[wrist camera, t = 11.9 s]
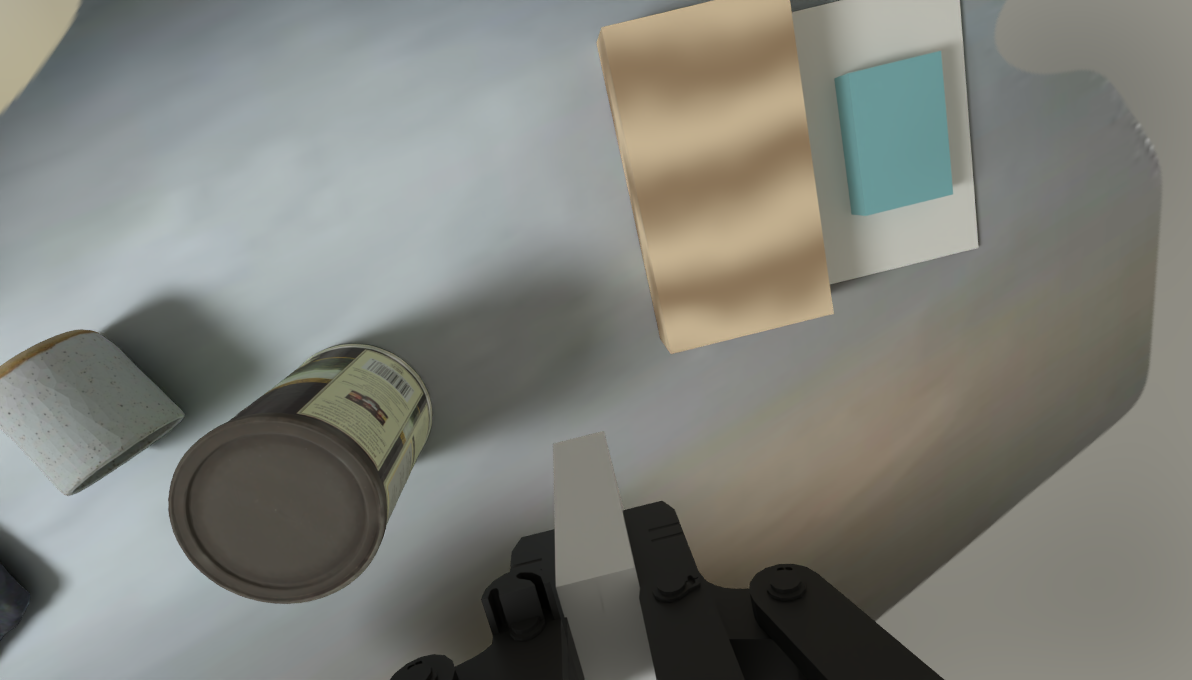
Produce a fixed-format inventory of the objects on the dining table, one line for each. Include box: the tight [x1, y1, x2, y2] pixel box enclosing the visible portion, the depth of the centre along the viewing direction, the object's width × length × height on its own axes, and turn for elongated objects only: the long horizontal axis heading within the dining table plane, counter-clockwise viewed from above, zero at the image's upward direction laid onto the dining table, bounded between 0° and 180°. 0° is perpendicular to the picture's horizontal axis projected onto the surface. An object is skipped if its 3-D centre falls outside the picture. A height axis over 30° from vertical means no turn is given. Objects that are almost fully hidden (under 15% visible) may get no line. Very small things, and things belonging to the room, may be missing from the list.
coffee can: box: [168, 344, 432, 604], centre depth 38 cm, size 10×10×14 cm
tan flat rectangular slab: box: [597, 0, 834, 354], centre depth 40 cm, size 20×11×4 cm, turn 13°
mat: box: [792, 0, 978, 284], centre depth 42 cm, size 18×12×1 cm, turn 13°
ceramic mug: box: [0, 330, 185, 496], centre depth 39 cm, size 11×8×8 cm
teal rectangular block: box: [834, 51, 953, 216], centre depth 41 cm, size 9×6×2 cm, turn 13°
